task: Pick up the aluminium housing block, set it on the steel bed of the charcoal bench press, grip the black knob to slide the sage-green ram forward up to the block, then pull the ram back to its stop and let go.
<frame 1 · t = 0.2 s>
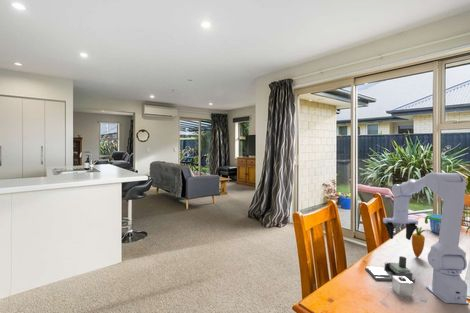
hand: (399, 238, 116), 10 cm above the table, tool pointing down, fingers open, 7 cm apart
housing: (401, 292, 91), on the table
press: (386, 274, 103), on the table
ram: (399, 264, 102), point 5 cm above the table, slide at 0.0 cm
snack cup: (438, 232, 154), on the table
carrot: (417, 257, 119), on the table
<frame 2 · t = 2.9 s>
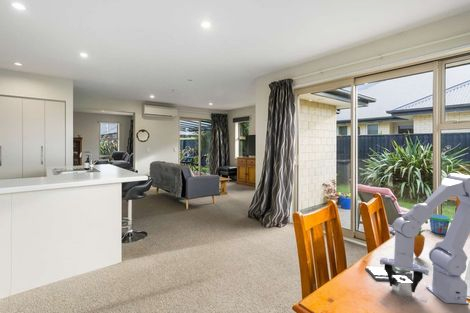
hand: (401, 287, 91), 2 cm above the table, tool pointing down, fingers closed on housing, 6 cm apart
housing: (401, 292, 91), on the table, touching gripper
everything else where it was.
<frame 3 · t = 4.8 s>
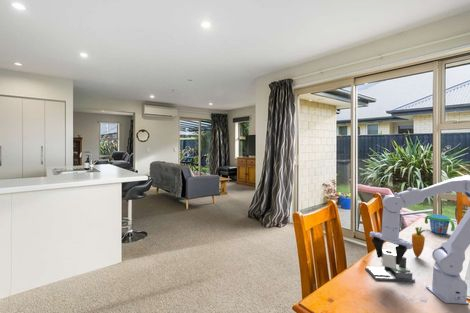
hand: (388, 260, 97), 9 cm above the table, tool pointing down, fingers closed on housing, 6 cm apart
housing: (388, 264, 97), point 7 cm above the table, touching gripper
everything else where it was.
when the fingers open (4 cm above the table, at t = 6.8 s): housing stays where it is, resting on press.
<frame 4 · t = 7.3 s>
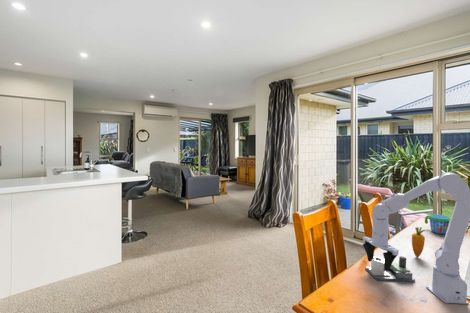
hand: (378, 264, 103), 4 cm above the table, tool pointing down, fingers open, 7 cm apart
housing: (378, 271, 103), point 1 cm above the table, touching press
everything else where it was.
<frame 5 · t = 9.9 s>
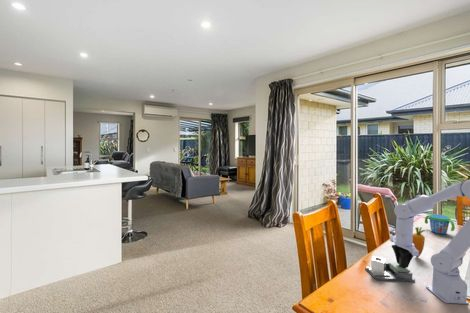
hand: (402, 265, 102), 4 cm above the table, tool pointing down, fingers closed on ram, 2 cm apart
ram: (399, 264, 102), point 5 cm above the table, slide at 0.0 cm, touching gripper
everything else where it was.
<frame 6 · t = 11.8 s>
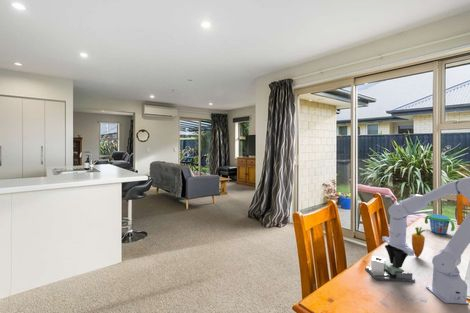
hand: (396, 265, 102), 4 cm above the table, tool pointing down, fingers closed on ram, 2 cm apart
ram: (393, 264, 102), point 5 cm above the table, slide at 2.4 cm, touching gripper
everything else where it was.
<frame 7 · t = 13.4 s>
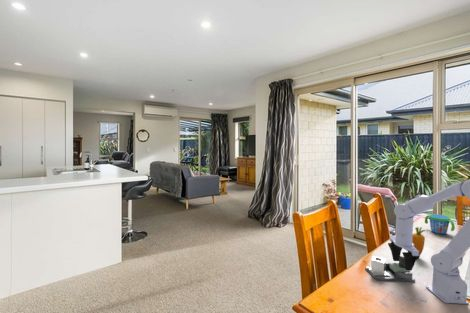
hand: (402, 265, 102), 4 cm above the table, tool pointing down, fingers open, 7 cm apart
ram: (399, 264, 102), point 5 cm above the table, slide at 0.0 cm
everything else where it was.
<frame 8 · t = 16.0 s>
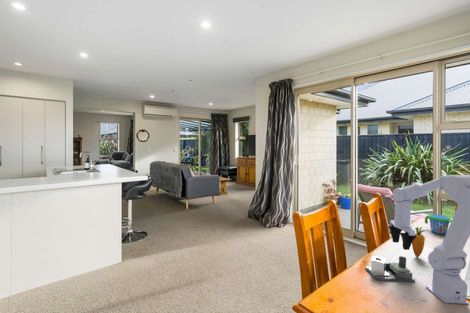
hand: (400, 245, 110), 9 cm above the table, tool pointing down, fingers open, 7 cm apart
nothing on the table moved.
at the end: housing 0.2 cm from the target spot on the press, point 1.5 cm above the press's base; housing tilted 0°; ram slide at 0.0 cm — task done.
